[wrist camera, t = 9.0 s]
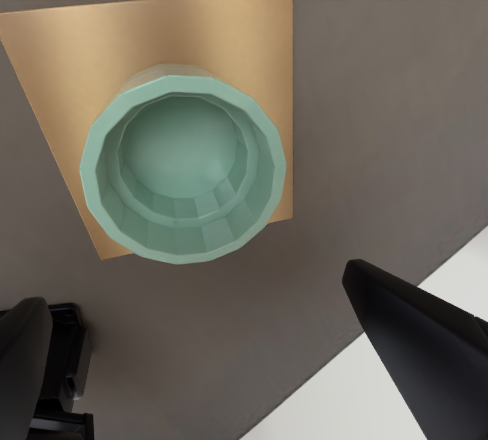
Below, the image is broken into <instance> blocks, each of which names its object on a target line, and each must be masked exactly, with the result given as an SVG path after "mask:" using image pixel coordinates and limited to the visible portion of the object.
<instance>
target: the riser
mask: <svg viewBox="0 0 488 440" xmlns="http://www.w3.org/2000/svg"><path fill="white" fill-rule="evenodd" d="M0 39H1V41H2V44H3V46H4V48H5V50H6V52H7V55H8V57H9V59H10V61H11V63H12V66H13V68H14V70H15V72H16V74H17V77H18V79H19V81H20V83H21V85H22V88H23V90H24V92H25V94H26V96H27V99H28V101H29V103H30V105H31V107H32V110H33V112H34V114H35V116H36V118H37V121H38V123H39V125H40V127H41V129H42V132H43V134H44V136H45V138H46V140H47V143H48V145H49V147H50V149H51V151H52V154H53V156H54V158H55V160H56V162H57V165H58V167H59V169H60V171H61V173H62V176H63V178H64V180H65V182H66V184H67V187H68V189H69V191H70V193H71V195H72V198H73V200H74V202H75V204H76V206H77V209H78V211H79V213H80V215H81V217H82V220H83V222H84V224H85V226H86V228H87V231H88V233H89V235H90V237H91V239H92V242H93V244H94V246H95V248H96V250H97V253H98V255H99V257H100V259H101V260H105V259H109V258H114V257H118V256H123V255H127V254H132V253H134V252H132V251H130V250H129V249H127V248H125V247H124V246H122V245H121V244H119V243H117V242H116V241H114V240H112V239H111V238H110V237H109V236H108V235H107V233H106V232H105V231H104V229H103V228H102V227H101V225H100V224H99V223H98V221H97V220H96V219H95V217H94V216H93V215H92V213H91V212H90V211H89V209H88V207H87V205H86V200H85V195H84V191H83V186H82V181H81V177H80V172H79V165H80V161H81V158H82V154H83V150H84V147H85V143H86V139H87V135H88V132H89V128H90V127H91V125H92V123H93V122H94V120H95V119H96V117H97V116H98V114H99V113H100V111H101V110H102V108H103V107H104V105H105V104H106V102H107V101H108V99H109V98H110V97H111V96H112V95H113V94H114V93H115V92H116V91H117V89H118V88H119V87H120V86H121V85H122V84H123V83H124V82H125V81H126V80H127V79H128V77H131V76H132V75H133V74H136V73H138V72H141V71H144V70H146V69H149V68H151V67H154V66H156V65H159V64H164V63H170V64H184V65H196V66H200V67H202V68H204V69H206V70H207V71H209V72H211V73H213V74H215V75H217V76H219V77H221V78H222V79H224V80H226V81H228V82H229V83H231V84H232V85H234V86H236V87H237V88H239V89H240V90H242V91H243V92H245V93H246V94H248V95H250V96H251V97H252V98H253V99H255V100H256V102H257V103H258V104H259V105H260V107H261V108H262V109H263V111H264V112H265V113H266V114H267V116H268V117H269V118H270V120H271V121H272V122H273V123H274V125H275V126H276V127H277V130H278V131H279V135H280V139H281V143H282V147H283V151H284V155H285V159H286V166H287V167H286V173H285V179H284V186H283V192H282V198H281V200H280V202H279V204H278V205H277V207H276V209H275V211H274V212H273V214H272V216H271V217H270V219H269V221H268V223H273V222H277V221H282V220H286V219H291V218H293V0H134V1H123V2H111V3H100V4H88V5H77V6H65V7H54V8H42V9H31V10H19V11H8V12H0ZM268 223H267V224H268Z"/></svg>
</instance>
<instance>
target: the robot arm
mask: <svg viewBox="0 0 488 440" xmlns="http://www.w3.org/2000/svg"><path fill="white" fill-rule="evenodd" d="M342 284H343V287H344V289H345V291H346V293H347V296H348V298H349V300H350V302H351V304H352V307H353V309H354V311H355V313H356V315H357V318H358V320H359V322H360V324H361V326H362V328H363V329H364V331H365V333H366V335H367V336H368V338H369V340H370V342H371V343H372V345H373V347H374V349H375V350H376V352H377V354H378V355H379V357H380V359H381V361H382V362H383V364H384V366H385V367H386V369H387V371H388V372H389V374H390V376H391V378H392V380H393V381H394V383H395V385H396V386H397V388H398V390H399V392H400V393H401V395H402V397H403V398H404V400H405V402H406V404H407V405H408V407H409V409H410V410H411V412H412V414H413V416H414V417H415V419H416V421H417V422H418V424H419V426H420V428H421V430H422V431H423V433H424V435H425V437H426V438H427V440H488V322H486V321H484V320H482V319H480V318H479V317H474V315H472V314H470V313H468V312H466V311H464V310H462V309H460V308H458V307H456V306H454V305H452V304H450V303H448V302H446V301H444V300H442V299H440V298H438V297H436V296H434V295H432V294H430V293H428V292H426V291H424V290H422V289H420V288H418V287H416V286H414V285H412V284H410V283H408V282H406V281H404V280H402V279H400V278H398V277H396V276H394V275H392V274H390V273H388V272H386V271H384V270H382V269H380V268H378V267H376V266H374V265H372V264H370V263H368V262H366V261H364V260H362V259H354V260H349V261H348V262H347V265H346V268H345V271H344V274H343V278H342ZM91 352H92V345H91V341H90V337H89V334H88V330H87V328H86V327H85V326H82V322H81V319H80V315H79V312H78V308H77V306H75V305H73V304H64V305H56V306H47V303H46V300H45V299H44V298H43V297H31V298H25V299H23V300H22V301H21V302H19V303H18V304H17V305H16V306H15V307H14V308H12V309H11V310H10V311H5V312H0V440H94V424H93V414H88V413H84V414H78V413H71V412H72V407H73V403H74V400H75V399H80V398H81V397H82V395H83V394H84V389H85V384H86V378H87V373H88V368H89V363H90V358H91Z"/></svg>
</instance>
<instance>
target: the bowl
mask: <svg viewBox="0 0 488 440" xmlns="http://www.w3.org/2000/svg"><path fill="white" fill-rule="evenodd" d="M286 167H287V166H286V159H285V155H284V151H283V147H282V143H281V139H280V135H279V131H278V130H277V127H276V126H275V125H274V123H273V122H272V121H271V120H270V118H269V117H268V116H267V114H266V113H265V112H264V111H263V109H262V108H261V107H260V105H259V104H258V103H257V102H256V100H255V99H253V98H252V97H251V96H250V95H248V94H246V93H245V92H243V91H242V90H240V89H239V88H237V87H236V86H234V85H232V84H231V83H229V82H228V81H226V80H224V79H222V78H221V77H219V76H217V75H215V74H213V73H211V72H209V71H207V70H206V69H204V68H202V67H200V66H196V65H184V64H170V63H164V64H159V65H156V66H154V67H151V68H149V69H146V70H144V71H141V72H138V73H136V74H133V75H132V76H131V77H128V79H127V80H126V81H125V82H124V83H123V84H122V85H121V86H120V87H119V88H118V89H117V91H116V92H115V93H114V94H113V95H112V96H111V97H110V98H109V99H108V101H107V102H106V104H105V105H104V107H103V108H102V110H101V111H100V113H99V114H98V116H97V117H96V119H95V120H94V122H93V123H92V125H91V127H90V128H89V132H88V135H87V139H86V143H85V147H84V150H83V154H82V158H81V161H80V165H79V172H80V177H81V181H82V186H83V191H84V195H85V200H86V205H87V207H88V209H89V211H90V212H91V213H92V215H93V216H94V217H95V219H96V220H97V221H98V223H99V224H100V225H101V227H102V228H103V229H104V231H105V232H106V233H107V235H108V236H109V237H110V238H111V239H112V240H114V241H116V242H117V243H119V244H121V245H122V246H124V247H125V248H127V249H129V250H130V251H132V252H134V253H135V254H137V255H139V256H141V257H143V258H148V259H152V260H157V261H162V262H166V263H171V264H187V263H197V262H207V261H209V260H210V261H211V260H214V259H216V258H218V257H221V256H223V255H225V254H228V253H230V252H233V251H235V250H237V249H239V248H241V247H242V246H243V245H245V244H246V243H247V242H248V241H249V240H250V239H252V238H253V237H254V236H255V235H256V234H257V233H259V232H260V231H261V230H262V229H263V228H264V226H266V224H267V223H268V221H269V219H270V217H271V216H272V214H273V212H274V211H275V209H276V207H277V205H278V204H279V202H280V200H281V198H282V192H283V186H284V179H285V173H286Z"/></svg>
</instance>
